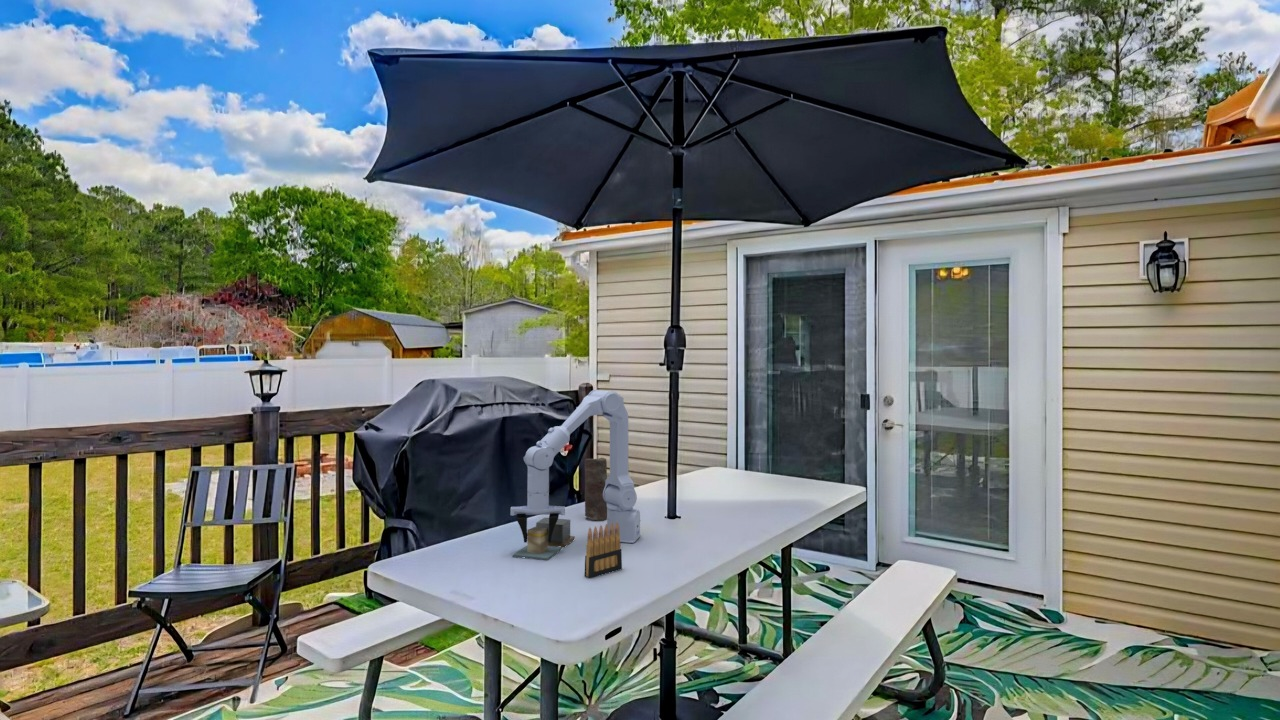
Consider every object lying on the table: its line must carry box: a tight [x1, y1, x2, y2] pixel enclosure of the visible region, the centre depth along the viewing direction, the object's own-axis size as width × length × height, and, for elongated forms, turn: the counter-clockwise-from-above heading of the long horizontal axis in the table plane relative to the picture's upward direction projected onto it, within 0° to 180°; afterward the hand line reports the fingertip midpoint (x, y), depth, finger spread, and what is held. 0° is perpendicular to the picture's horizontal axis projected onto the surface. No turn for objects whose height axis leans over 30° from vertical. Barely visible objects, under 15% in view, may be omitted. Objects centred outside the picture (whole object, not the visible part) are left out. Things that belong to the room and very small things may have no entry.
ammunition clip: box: [583, 522, 623, 579], centre depth 167 cm, size 11×2×12 cm, turn 133°
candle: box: [584, 457, 608, 522], centre depth 220 cm, size 8×7×20 cm
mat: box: [512, 545, 563, 561], centre depth 182 cm, size 10×10×1 cm
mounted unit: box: [535, 517, 576, 548], centre depth 193 cm, size 10×8×6 cm
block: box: [526, 525, 549, 554], centre depth 182 cm, size 4×4×6 cm
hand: (537, 541), depth 182 cm, fingers open, 6 cm apart
